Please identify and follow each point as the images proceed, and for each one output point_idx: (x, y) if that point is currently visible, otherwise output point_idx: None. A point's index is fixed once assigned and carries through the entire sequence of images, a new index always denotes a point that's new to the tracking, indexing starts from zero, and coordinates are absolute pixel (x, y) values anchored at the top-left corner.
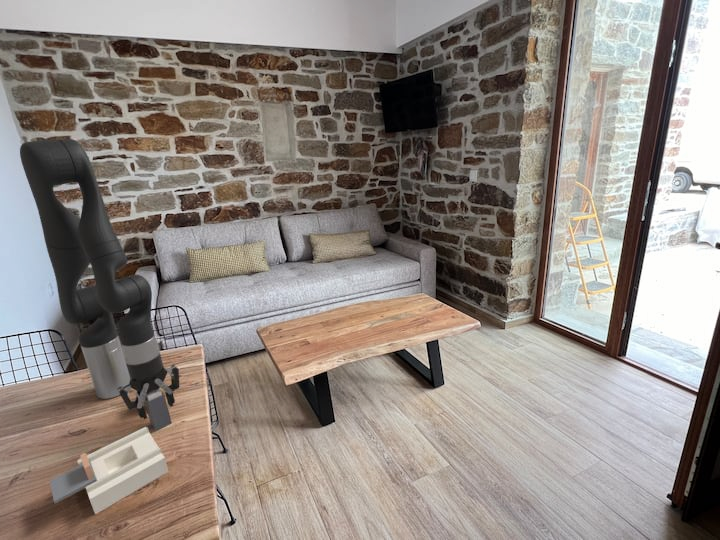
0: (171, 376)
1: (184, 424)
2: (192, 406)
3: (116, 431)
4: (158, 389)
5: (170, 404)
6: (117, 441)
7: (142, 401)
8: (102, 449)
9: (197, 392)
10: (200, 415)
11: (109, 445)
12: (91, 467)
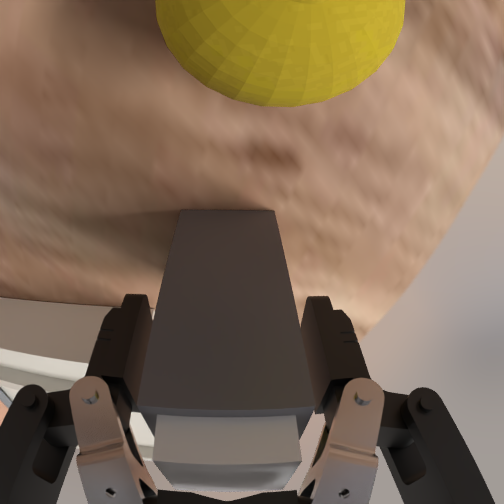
0: (437, 485)
1: (300, 321)
2: (398, 238)
3: (25, 139)
4: (278, 481)
5: (305, 349)
6: (36, 359)
7: (134, 457)
8: (4, 381)
9: (479, 149)
10: (371, 315)
11: (14, 353)
12: (5, 404)
